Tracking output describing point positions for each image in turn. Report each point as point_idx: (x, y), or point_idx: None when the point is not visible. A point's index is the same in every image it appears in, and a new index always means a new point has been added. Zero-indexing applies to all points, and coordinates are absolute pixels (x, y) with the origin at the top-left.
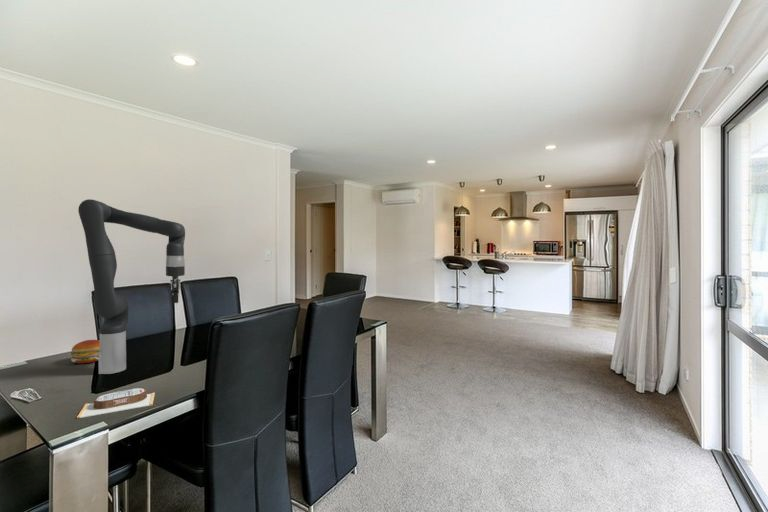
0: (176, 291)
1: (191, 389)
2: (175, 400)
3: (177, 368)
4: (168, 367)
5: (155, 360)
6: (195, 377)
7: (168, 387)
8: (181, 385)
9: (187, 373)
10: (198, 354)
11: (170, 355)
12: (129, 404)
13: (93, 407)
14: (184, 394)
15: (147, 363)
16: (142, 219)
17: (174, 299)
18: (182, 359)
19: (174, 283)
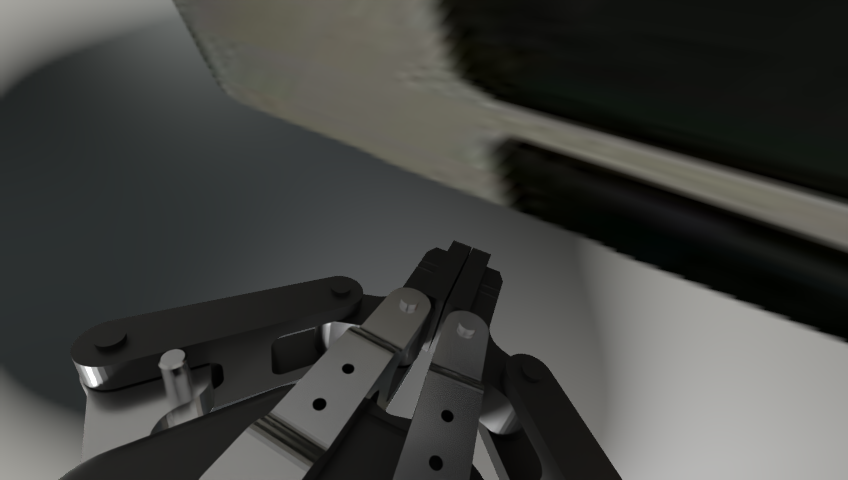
0: (317, 341)
1: (246, 84)
2: (188, 24)
3: (477, 112)
4: (521, 86)
5: (716, 63)
6: (336, 128)
7: (289, 30)
8: (288, 70)
9: (391, 122)
10: (620, 244)
11: (743, 152)
12: None
13: None
14: (218, 57)
15: (693, 13)
16: None
17: (418, 267)
18: (599, 169)
19: (88, 399)
